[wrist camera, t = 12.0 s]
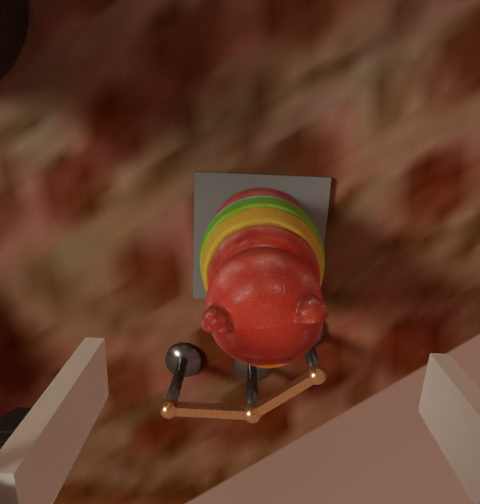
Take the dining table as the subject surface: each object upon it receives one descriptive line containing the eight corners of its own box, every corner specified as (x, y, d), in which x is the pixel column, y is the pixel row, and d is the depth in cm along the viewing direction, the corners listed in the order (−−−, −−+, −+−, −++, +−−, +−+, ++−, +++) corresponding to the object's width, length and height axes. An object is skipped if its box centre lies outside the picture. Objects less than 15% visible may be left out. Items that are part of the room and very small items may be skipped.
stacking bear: (203, 292, 39) (166, 420, 22) (198, 185, 36) (150, 237, 19) (317, 290, 38) (370, 419, 21) (321, 183, 35) (385, 233, 18)
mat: (195, 171, 36) (194, 171, 35) (330, 177, 36) (331, 178, 35) (194, 295, 39) (193, 298, 39) (317, 301, 39) (318, 304, 39)
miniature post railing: (165, 305, 40) (143, 351, 32) (324, 313, 40) (343, 361, 31) (166, 372, 42) (146, 431, 34) (316, 380, 42) (332, 441, 34)
